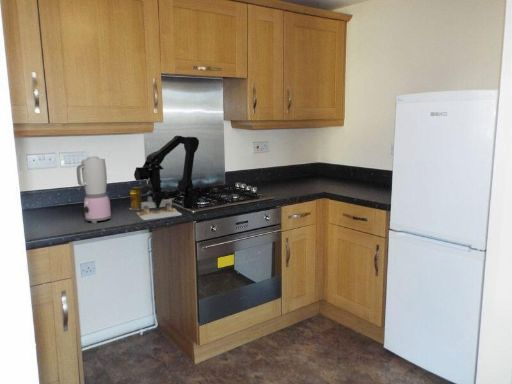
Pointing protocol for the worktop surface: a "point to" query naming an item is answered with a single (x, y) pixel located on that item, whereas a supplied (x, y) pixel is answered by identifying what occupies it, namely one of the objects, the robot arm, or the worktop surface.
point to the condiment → (135, 198)
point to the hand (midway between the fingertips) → (156, 207)
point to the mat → (160, 215)
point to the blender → (94, 189)
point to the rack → (147, 212)
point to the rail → (153, 204)
